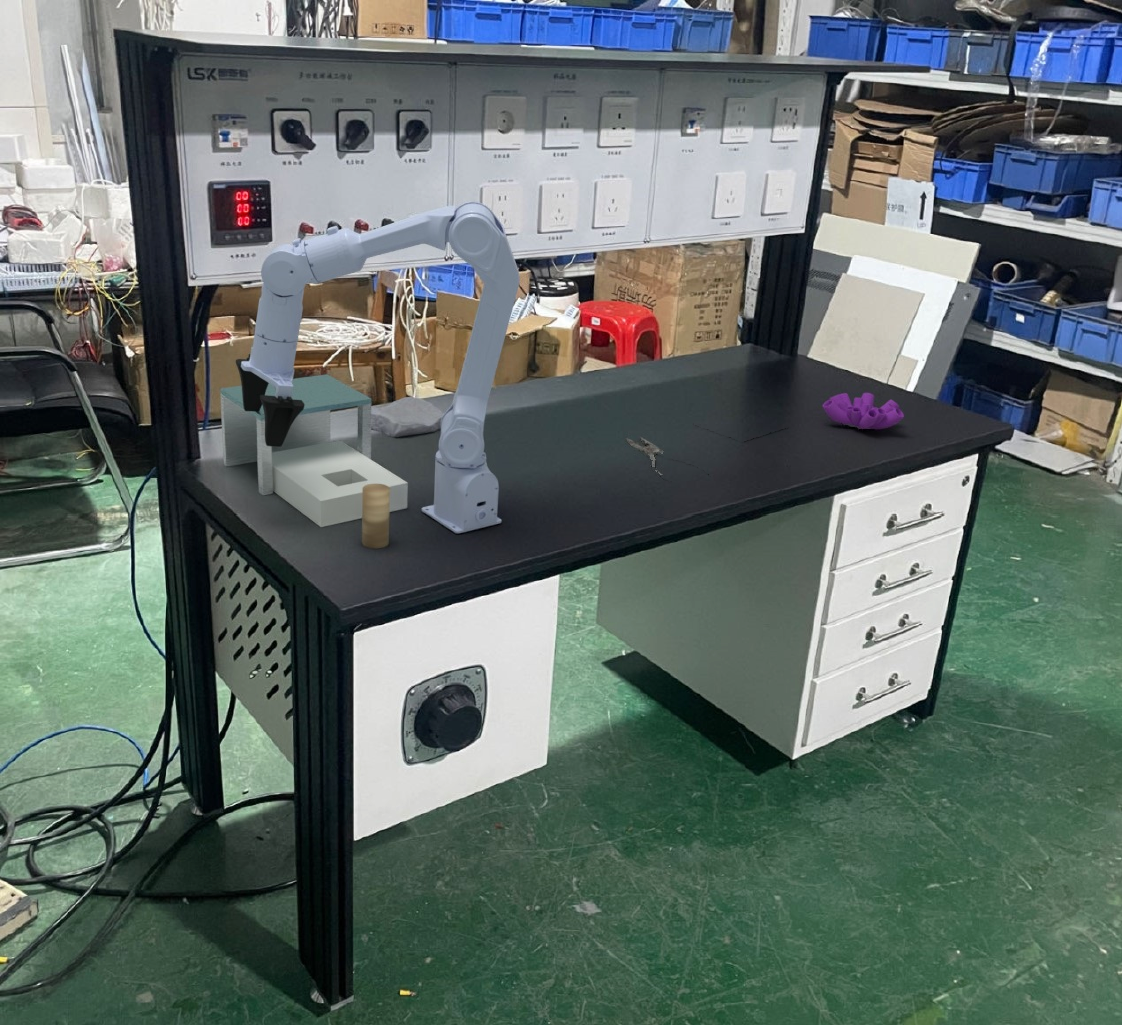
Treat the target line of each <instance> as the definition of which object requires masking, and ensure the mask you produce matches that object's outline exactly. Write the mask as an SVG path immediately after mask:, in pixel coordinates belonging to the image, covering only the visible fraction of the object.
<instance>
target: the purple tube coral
mask: <svg viewBox="0 0 1122 1025" xmlns="http://www.w3.org/2000/svg"><path fill="white" fill-rule="evenodd" d="M874 401H875V395H874V394H872V393H870V392H863V393H862V395H861V397H854V399H853V404H852V402H851V399H850V397H849V394H848V393H846V392H844V393H839V394H836V395H833V396H831V397H829V399H828V400H826V401H825V402H824V403H823V404H822V408H823V410H824V412H825V414H827V416H828V418H829V419H831V420H832V421H834V422H835V423H838V422H840V423H844V424H851V425H855V426H858V427H859V428H861V429H862V430H863V429H867V428H870V429H875V430H883V429H887V428H890V427H893V426H894V425H896V424H898V423H899V422H901V421H902V420H903V418H904V416H905V414H904V413H903V411H902V410H901V409H900V408H899V407H900V405H899V404H898V403H897V402H895V401H894V400H893V399H889V400H888V401H887V402H886V403H885V404H883V405H882V406H881V407H876V406H874ZM840 423H839V424H840Z"/></svg>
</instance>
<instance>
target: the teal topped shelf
mask: <svg viewBox="0 0 1122 1025" xmlns="http://www.w3.org/2000/svg"><path fill="white" fill-rule="evenodd" d="M292 385H293V393H292V399H293V400H302V401H303V403H304V404H305V406H304V409H303V410H302V411H301V412H300V414H299V415H298V416H297V417H296V419H295V420H294V421H293V423H292V425H291V427H290V429H289V431H288V433H287V436H286V438H285V440H284V443H283V445H282V446H281V447H276V446H267V445H266V443H265V415H264V409H263V405H262V406H261V409H260V411H257V412H255V411H245V410H244V407H243V397H242V385H237V386H227V387H221V388H220V389H219V393H220V394H219V395H220V411H221V412H220V414H221V415H220V416H221V434H222V435H221V437H222V438H221V439H222V455H223V456H222V457H223V459H222V460H223V461H222V462H223V466H225V467H232V466H238V465H244V464H249V463H256V462H257V480H258V493H259V494H261V495H262V496H266V495H267V496H268V495H271V494H272V495H273V494H274V491H273V484H272V452H277V451H283V450H289V449H295V448H300V447H306V446H312V445H318V444H323V443H329V442H332V441H331V411H335V410H340V409H347V408H353V407H357V451H358V452H359V453H361V454H363V455H364V456H366V457H367V458H369V459H371V460H372V458H371V457H372V455H371V454H372V429H371V408H372V398H371V397H369V396H367V395H365V394H364V393H362V392H360V391H359V390H356V389H355V388H353V387H351V386H349V385H347V384H345V383H343V382H342V381H340V380H338V379H336V378H335V377H333V376H331V375H329V374H328V373H327V374H326V373H325V374H321V375H312V376H303V377H296V378H293V380H292ZM275 393H276V390H275V389H274V387H273V386H272V385H271V384H270V383H269V384H268V387H267V389H266V392H265V395H268V396H275ZM257 455H258V459H257Z"/></svg>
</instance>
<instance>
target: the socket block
mask: <svg viewBox="0 0 1122 1025" xmlns="http://www.w3.org/2000/svg"><path fill="white" fill-rule="evenodd" d="M257 459H258V455H257ZM272 484H273V493H275V494H276V495H278V496H279V497H280V498H282V499H283V500H284V501H286V502H287V503H289V504H290V505H291V507H293V508H295V509H297V511H299V512H301V514H302V515H304V516H306V518H308V519H310V520H311V521H312V522H314V523H315V524H316V525H317V526H319V527H320V528H324V527H329V526H333V525H337V524H338V525H339V524H341V523H347V522H351V521H354V520H360V519H362V493H363V487H364V486H365V485H368V484H383V485H386V486H388V487H389V488H390V505H389V513H391V512H395V511H401V510H404V509H408V485H409V483H408V482H407V481H406V480H404V479H402V478H401V477H400V476H398V475H397V474H395V473H393V472H391V471H390V470H389V469H387V468H384V466H381V465H380V464H378V462H375V461H374V460H372V458H371V459H369V458H367V457H366V456H364V455H363V454H361V453H359V452H358V450H356V449H354V448H353V447H351V446H349V445H348V444H346V443H345V442H344V441H342V440H336V441H331V442H329V443H323V444H318V445H312V446H306V447H300V448H295V449H289V450H283V451H277V452H272Z"/></svg>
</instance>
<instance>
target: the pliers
mask: <svg viewBox="0 0 1122 1025" xmlns="http://www.w3.org/2000/svg"><path fill="white" fill-rule="evenodd" d="M639 438H640V440H641V441H643V442H645V443H643V445H640V443H638V442H636V441H634V440H632V439H631V438H628V437H626V439H625V441H626V440H627V442H628V443H629V444H630V445H631V446H633V447H635V448H637V449H638V450H640V451H642V452H645V453H646V454H647V455H649V456H650V459H651V460H653V461H652V467H655V460H656V461H657V458H656V459H655V457H656V456H655V457H654V453H661V454H663V452H665V451H664V450H662V449H661V448H660V447H658V446H657V445H656V444H654V443H652V442H650V441H648V440H647V439H645V438H643V437H641V436H639ZM640 440H639V441H640ZM641 441H640V442H641ZM627 442H626V443H627ZM628 443H627V444H628ZM629 444H628V445H629ZM644 444H645V445H649V446H645V445H644ZM630 445H629V446H630ZM631 446H630V447H631ZM638 450H637V451H638ZM640 451H639V452H640ZM642 452H641V453H642ZM655 471H656V472H657V471H658V469H657V470H655ZM658 473H659V474H660V475H663V474H662V473H661V472H660V471H658Z"/></svg>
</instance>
